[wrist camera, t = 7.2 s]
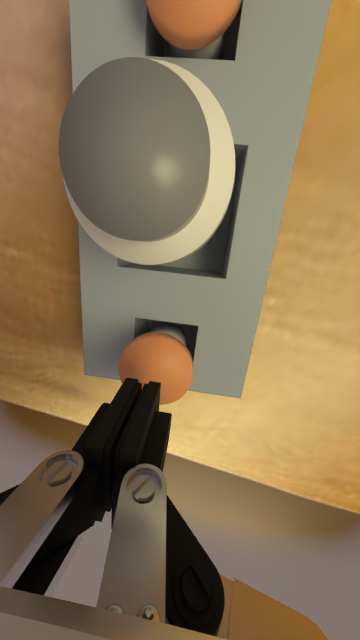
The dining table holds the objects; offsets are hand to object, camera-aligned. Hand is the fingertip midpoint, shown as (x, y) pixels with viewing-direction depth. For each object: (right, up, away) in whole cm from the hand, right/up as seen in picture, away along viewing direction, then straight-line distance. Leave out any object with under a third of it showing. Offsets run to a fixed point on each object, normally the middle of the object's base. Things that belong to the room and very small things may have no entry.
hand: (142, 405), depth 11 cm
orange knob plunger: (+1, +3, +7) cm, 8 cm away
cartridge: (+2, +12, +6) cm, 13 cm away
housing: (+2, +12, +7) cm, 14 cm away
